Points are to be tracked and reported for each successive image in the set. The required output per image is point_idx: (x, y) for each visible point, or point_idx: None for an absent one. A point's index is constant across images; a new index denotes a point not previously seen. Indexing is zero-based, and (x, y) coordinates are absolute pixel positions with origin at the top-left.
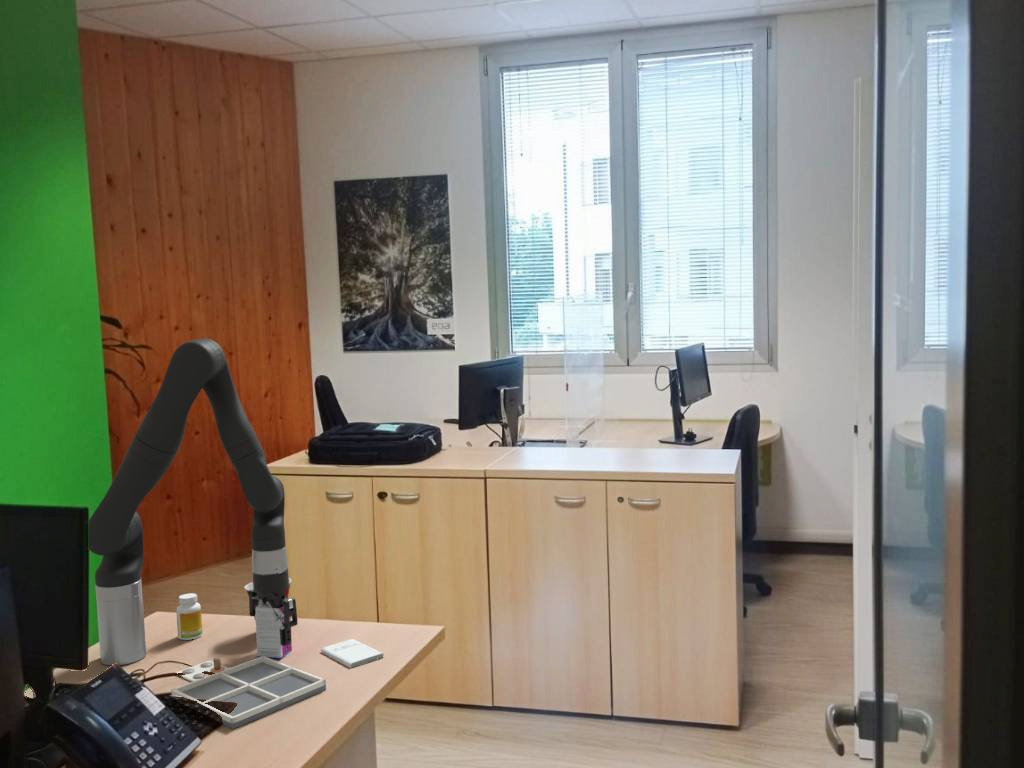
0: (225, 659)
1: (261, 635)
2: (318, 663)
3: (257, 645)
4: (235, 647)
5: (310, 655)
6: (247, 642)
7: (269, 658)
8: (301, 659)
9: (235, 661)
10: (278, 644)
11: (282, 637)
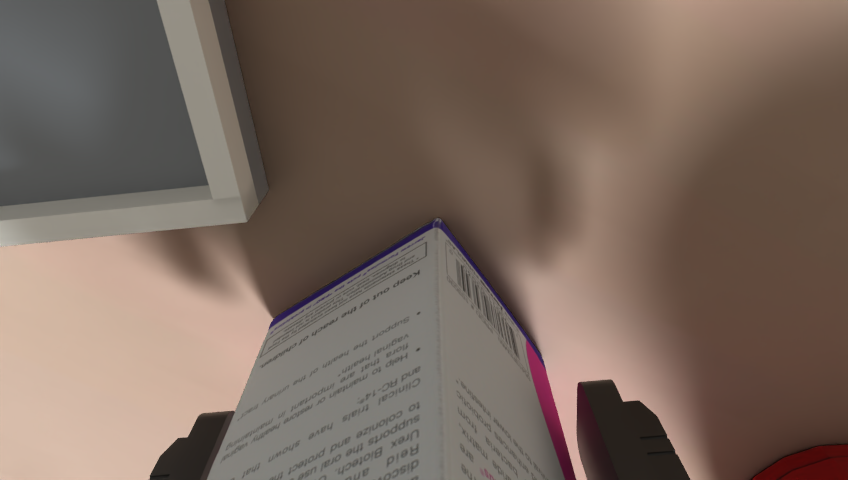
0: (671, 17)
1: (376, 373)
2: (42, 443)
3: (425, 279)
4: (828, 219)
5: None
6: (820, 327)
7: (142, 231)
8: (187, 411)
9: (543, 61)
10: (243, 399)
11: (169, 475)
